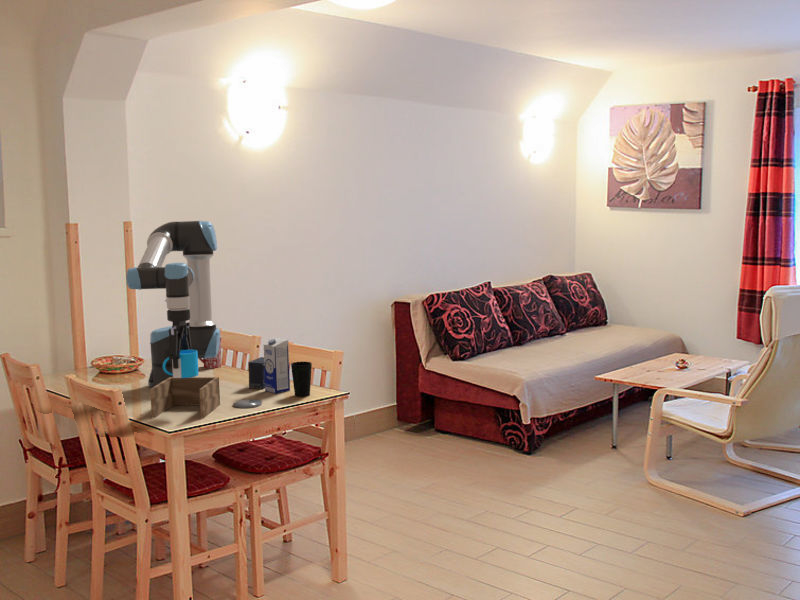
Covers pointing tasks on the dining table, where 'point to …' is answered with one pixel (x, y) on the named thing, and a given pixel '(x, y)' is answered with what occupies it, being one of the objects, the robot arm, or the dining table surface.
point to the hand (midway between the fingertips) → (182, 374)
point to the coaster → (247, 403)
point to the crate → (186, 394)
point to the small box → (257, 373)
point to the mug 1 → (186, 363)
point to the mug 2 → (213, 359)
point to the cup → (301, 378)
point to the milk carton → (276, 365)
